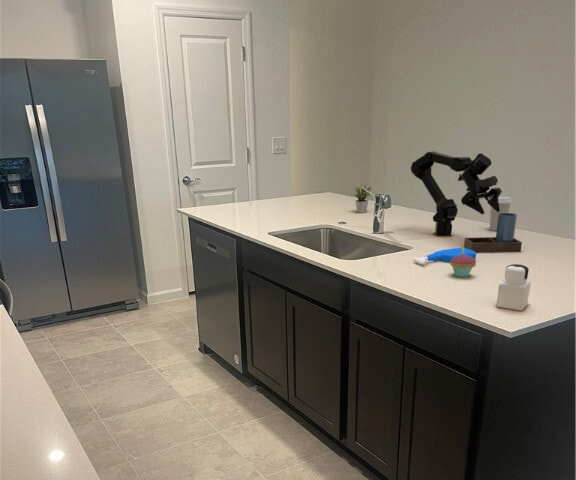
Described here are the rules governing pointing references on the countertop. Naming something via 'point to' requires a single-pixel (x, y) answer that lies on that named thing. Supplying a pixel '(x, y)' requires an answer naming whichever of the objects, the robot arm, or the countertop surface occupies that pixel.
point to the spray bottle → (444, 255)
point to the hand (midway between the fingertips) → (491, 212)
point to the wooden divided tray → (491, 245)
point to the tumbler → (506, 227)
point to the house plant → (361, 199)
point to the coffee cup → (504, 208)
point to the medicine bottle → (514, 288)
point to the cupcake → (462, 264)
